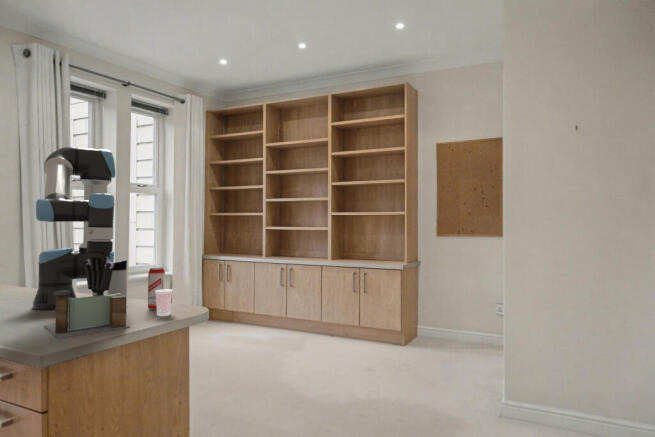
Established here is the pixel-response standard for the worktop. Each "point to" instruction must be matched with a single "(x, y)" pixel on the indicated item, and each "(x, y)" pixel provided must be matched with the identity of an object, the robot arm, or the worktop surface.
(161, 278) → the beer can
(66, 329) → the hinge post
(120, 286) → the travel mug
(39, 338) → the worktop surface
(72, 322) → the gate
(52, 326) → the base mat
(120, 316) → the stile
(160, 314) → the beverage cup
